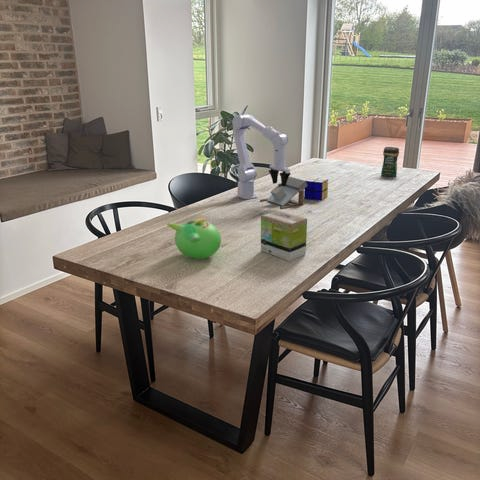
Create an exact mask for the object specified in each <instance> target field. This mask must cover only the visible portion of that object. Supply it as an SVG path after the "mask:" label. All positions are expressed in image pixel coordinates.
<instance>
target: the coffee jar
mask: <svg viewBox="0 0 480 480" xmlns="http://www.w3.org/2000/svg"><path fill="white" fill-rule="evenodd" d="M382 155H383V161H382V168H381V171H380V172H381V173H380V175H381V176H383V177H391V178H394V177H397V175H398V158H399V155H400V148H399V147H396V146H395V147H394V146H385V147H384V149H383V152H382Z"/></svg>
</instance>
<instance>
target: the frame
mask: <svg viewBox="0 0 480 480" xmlns="http://www.w3.org/2000/svg"><path fill="white" fill-rule="evenodd" d="M281 185H282V184H281V183H277V186H278V187H281ZM304 190H305V189H304ZM304 190H299V192H298V201H296V200H294V199H291V200H290V201H288V202H287V203H292V204H289V205H284V206H279V209H280V210H283V209H288V208H293V207H298V206H299V207H300V206H304V203H305V202H304ZM268 198H269V197H267V198H262V199H259V201H260V202H266V201H267V199H268Z"/></svg>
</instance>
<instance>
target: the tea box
mask: <svg viewBox="0 0 480 480" xmlns="http://www.w3.org/2000/svg"><path fill="white" fill-rule="evenodd" d="M307 231H308V218H306V217H303V216H300V215H299V216H298V215H295V214H291V213H288V212H283V211H280V210H275V211H272V212H270V213H267V214H263V215H260V252H264V253H266V254H269V255H272V256H274V257H277V258H280V259H282V260H284V261H285V260H286V261H288V262H291V261H294V260H296V259H298V258H301V257H303V256H305V255H306V253H307V252H306V251H307V236H308V235H307V234H308V233H307Z"/></svg>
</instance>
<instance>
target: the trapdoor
mask: <svg viewBox="0 0 480 480" xmlns="http://www.w3.org/2000/svg"><path fill="white" fill-rule="evenodd" d="M307 186H308V185H307V183H306V180H303V179H300V178H296V177H292V176H289V178H288V180H287V183H286V186H282V185H281V188H283V190H284V192H285V194H286V196H285V197H284V198H283V199H282V200H281V201H278V200H276V199H274V197H273V195H272V194H271V195H270V196H269V197H267V198H268V199H267V198H266V199H267V201H268V202H271V203H274V204H276V205H279V206H280V207H283V206H286V205H287V203H289V202H288V201H290V200H293V198H294V197H296V195H297V194H299V190H305V188H306V187H307Z"/></svg>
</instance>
